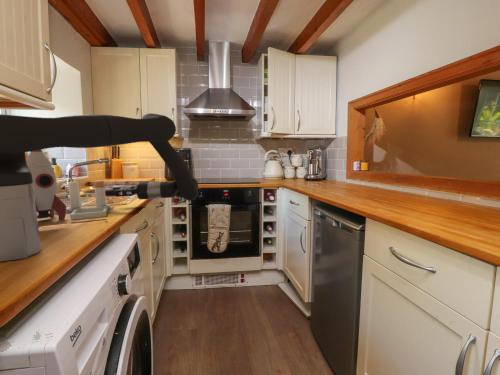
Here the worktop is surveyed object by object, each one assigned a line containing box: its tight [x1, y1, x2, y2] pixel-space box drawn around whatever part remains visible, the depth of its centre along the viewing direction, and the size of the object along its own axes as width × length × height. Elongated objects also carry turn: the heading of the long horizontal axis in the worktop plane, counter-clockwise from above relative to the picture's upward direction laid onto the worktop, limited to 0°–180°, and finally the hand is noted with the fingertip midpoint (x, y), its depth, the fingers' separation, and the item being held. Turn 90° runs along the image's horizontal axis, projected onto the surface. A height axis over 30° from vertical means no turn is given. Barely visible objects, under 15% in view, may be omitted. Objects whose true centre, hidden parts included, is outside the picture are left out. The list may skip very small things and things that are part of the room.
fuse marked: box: [93, 179, 107, 207], centre depth 112 cm, size 4×4×12 cm
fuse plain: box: [67, 181, 82, 213], centre depth 108 cm, size 4×4×12 cm
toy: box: [26, 149, 67, 220], centre depth 94 cm, size 11×11×30 cm
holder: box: [37, 204, 115, 216], centre depth 109 cm, size 7×27×3 cm, turn 114°
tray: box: [69, 205, 109, 225], centre depth 103 cm, size 11×11×3 cm
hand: (109, 191), depth 112 cm, fingers open, 8 cm apart
